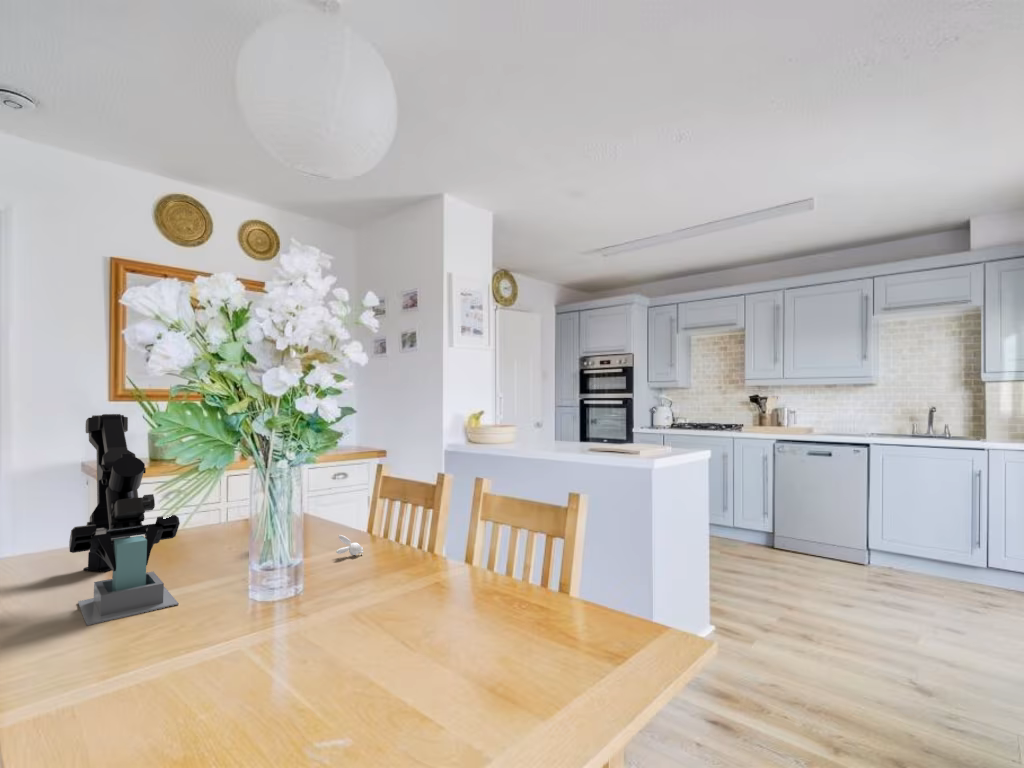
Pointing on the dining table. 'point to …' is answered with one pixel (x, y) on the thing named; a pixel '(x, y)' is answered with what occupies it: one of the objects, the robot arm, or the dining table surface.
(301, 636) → the dining table surface
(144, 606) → the well
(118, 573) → the teal block
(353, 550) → the rabbit figurine
